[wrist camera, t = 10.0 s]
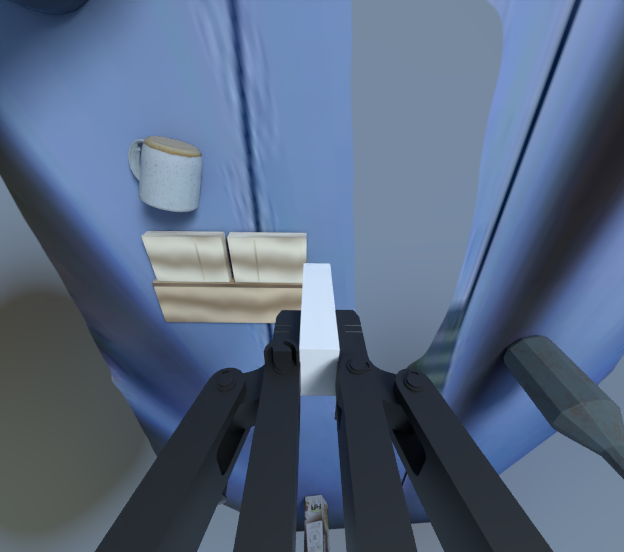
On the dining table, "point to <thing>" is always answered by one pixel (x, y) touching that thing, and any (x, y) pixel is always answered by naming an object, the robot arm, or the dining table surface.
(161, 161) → the ceramic mug
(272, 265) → the plank
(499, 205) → the dining table surface
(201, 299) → the laid board
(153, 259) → the plank
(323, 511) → the coffee box
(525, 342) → the bottle
